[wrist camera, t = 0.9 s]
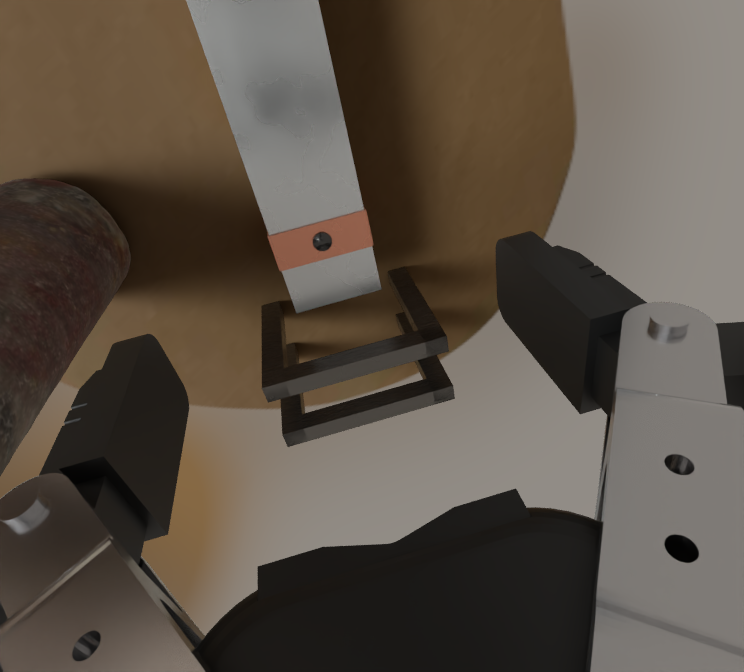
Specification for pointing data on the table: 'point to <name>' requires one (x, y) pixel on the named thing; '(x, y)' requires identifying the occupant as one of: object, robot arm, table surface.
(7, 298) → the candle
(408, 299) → the collar
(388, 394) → the collar
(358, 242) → the brushed metal post
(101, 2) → the table surface
